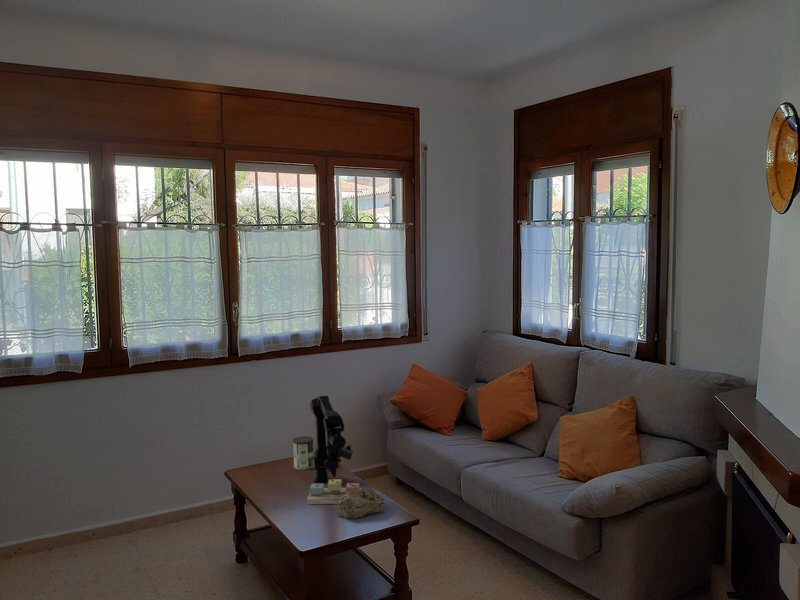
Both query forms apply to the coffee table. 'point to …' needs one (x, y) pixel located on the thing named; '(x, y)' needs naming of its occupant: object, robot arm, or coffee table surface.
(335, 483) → the yellow cube
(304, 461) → the coffee can
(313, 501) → the keypad board
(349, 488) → the pink cube
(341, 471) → the coffee table surface
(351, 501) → the rock
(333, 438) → the robot arm
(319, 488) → the blue-grey cube
